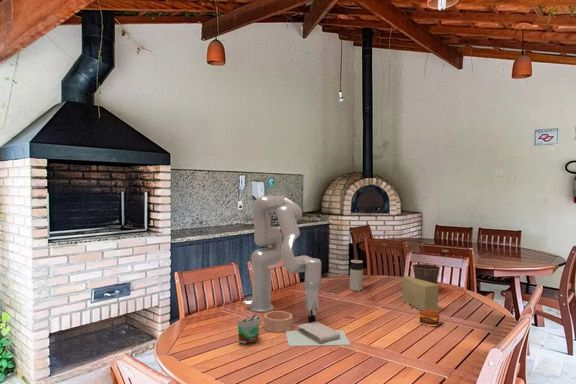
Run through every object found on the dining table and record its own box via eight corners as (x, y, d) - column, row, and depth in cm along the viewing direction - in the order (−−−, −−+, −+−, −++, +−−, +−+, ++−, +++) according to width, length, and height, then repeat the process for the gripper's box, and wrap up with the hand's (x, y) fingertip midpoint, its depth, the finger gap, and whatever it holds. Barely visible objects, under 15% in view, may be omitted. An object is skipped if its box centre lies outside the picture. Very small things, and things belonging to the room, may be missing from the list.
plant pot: (409, 288, 257) (410, 263, 256) (436, 289, 255) (436, 264, 254) (414, 295, 241) (415, 268, 240) (442, 296, 238) (443, 269, 238)
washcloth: (315, 325, 187) (316, 319, 187) (341, 338, 172) (341, 331, 172) (295, 330, 180) (295, 323, 180) (319, 344, 165) (320, 337, 165)
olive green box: (395, 302, 227) (396, 275, 226) (409, 300, 231) (410, 274, 230) (424, 314, 207) (425, 285, 206) (438, 311, 211) (439, 283, 210)
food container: (248, 349, 160) (249, 324, 160) (236, 345, 164) (237, 321, 163) (266, 338, 171) (266, 315, 171) (254, 335, 174) (255, 312, 174)
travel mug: (362, 291, 246) (363, 262, 246) (349, 290, 248) (350, 261, 247) (362, 288, 254) (363, 260, 253) (349, 287, 255) (350, 259, 255)
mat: (288, 346, 164) (288, 345, 164) (285, 331, 180) (285, 330, 180) (351, 345, 166) (351, 344, 166) (342, 330, 182) (342, 330, 182)
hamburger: (437, 328, 186) (437, 314, 186) (416, 324, 192) (416, 311, 191) (441, 322, 194) (441, 309, 194) (421, 319, 200) (421, 305, 199)
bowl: (264, 333, 177) (264, 320, 177) (263, 322, 190) (263, 311, 190) (293, 332, 178) (293, 320, 178) (290, 322, 191) (291, 310, 191)
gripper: (302, 281, 194) (301, 318, 195) (307, 289, 179) (306, 330, 180) (317, 281, 195) (317, 318, 195) (323, 289, 180) (322, 329, 181)
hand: (311, 323), depth 188 cm, fingers closed
